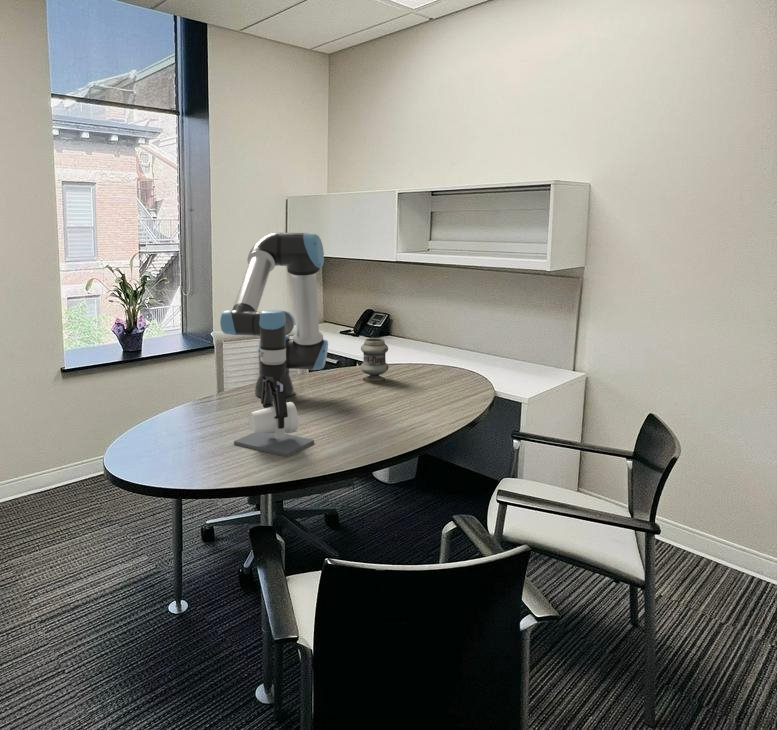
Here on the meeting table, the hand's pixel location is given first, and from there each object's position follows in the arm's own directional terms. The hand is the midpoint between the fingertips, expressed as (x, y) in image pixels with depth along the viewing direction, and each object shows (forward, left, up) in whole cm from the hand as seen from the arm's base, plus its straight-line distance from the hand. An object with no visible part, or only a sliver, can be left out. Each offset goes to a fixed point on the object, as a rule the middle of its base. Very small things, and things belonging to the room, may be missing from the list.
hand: (274, 432), depth 197 cm
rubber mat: (0, 0, -3) cm, 3 cm away
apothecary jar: (-13, +86, -4) cm, 87 cm away
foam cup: (-4, -6, +4) cm, 8 cm away
